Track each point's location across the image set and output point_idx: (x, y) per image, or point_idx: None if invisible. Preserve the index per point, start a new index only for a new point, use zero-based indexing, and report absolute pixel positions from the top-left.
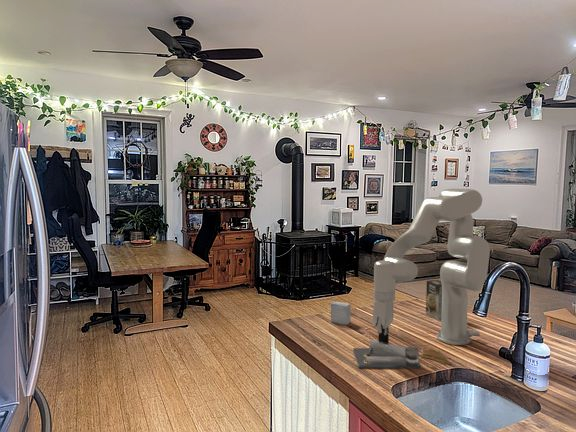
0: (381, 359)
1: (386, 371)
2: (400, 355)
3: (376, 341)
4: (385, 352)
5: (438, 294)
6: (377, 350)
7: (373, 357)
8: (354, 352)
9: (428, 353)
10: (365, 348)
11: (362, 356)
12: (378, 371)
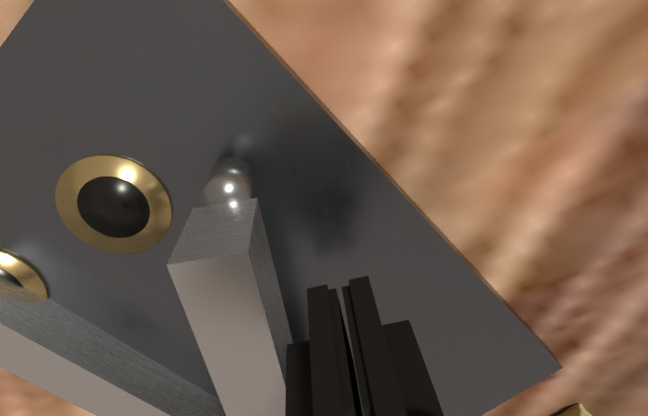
0: (87, 399)
1: (75, 408)
2: None
3: (227, 338)
4: (337, 283)
5: None
6: (324, 203)
7: (20, 357)
8: (35, 5)
9: None
10: (264, 58)
11: (32, 177)
12: (14, 379)
